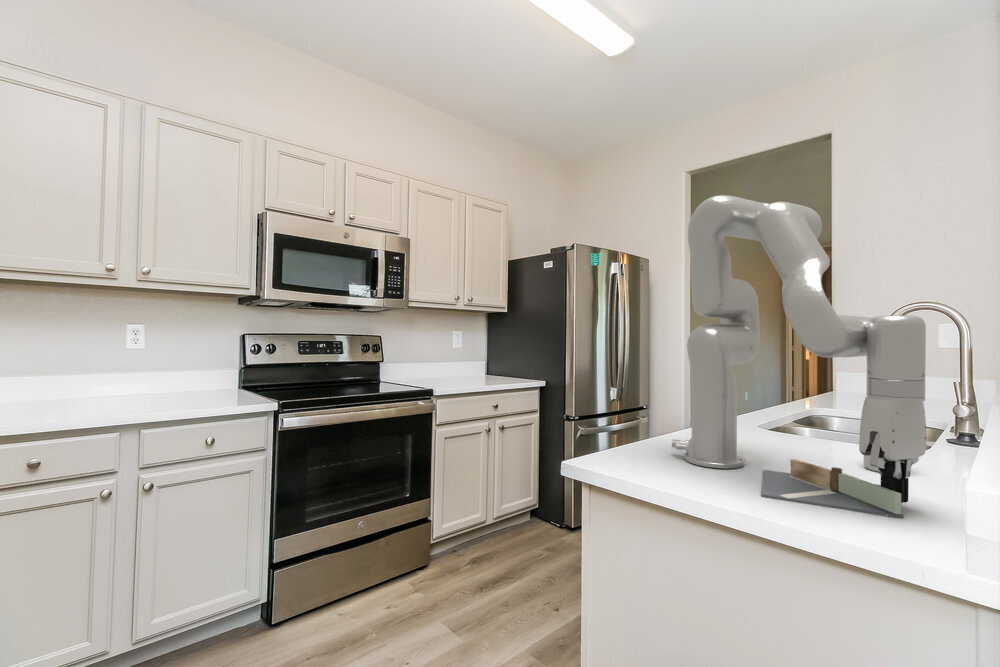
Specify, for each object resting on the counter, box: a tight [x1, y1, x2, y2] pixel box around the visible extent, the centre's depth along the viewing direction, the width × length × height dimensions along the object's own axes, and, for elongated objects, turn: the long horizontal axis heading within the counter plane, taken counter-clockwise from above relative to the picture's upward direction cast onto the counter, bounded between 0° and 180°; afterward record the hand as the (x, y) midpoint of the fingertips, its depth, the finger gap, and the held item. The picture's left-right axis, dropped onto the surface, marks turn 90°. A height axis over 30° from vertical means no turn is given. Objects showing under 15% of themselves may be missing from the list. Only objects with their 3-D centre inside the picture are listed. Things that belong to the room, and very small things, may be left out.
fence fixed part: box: [790, 458, 843, 493], centre depth 92 cm, size 10×2×5 cm, turn 15°
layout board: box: [760, 469, 905, 519], centre depth 88 cm, size 20×18×1 cm
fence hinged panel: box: [839, 472, 902, 514], centre depth 81 cm, size 11×1×3 cm, turn 7°
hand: (894, 499), depth 79 cm, fingers closed
